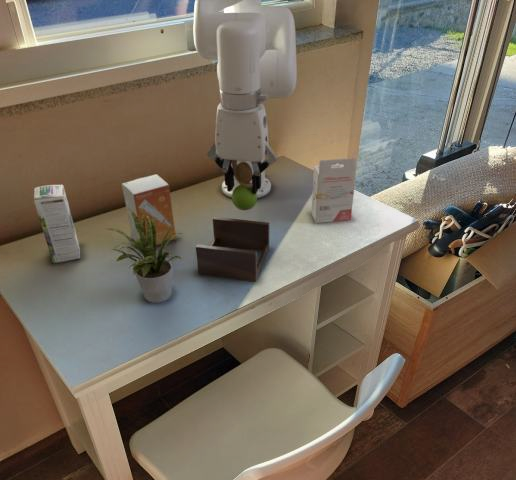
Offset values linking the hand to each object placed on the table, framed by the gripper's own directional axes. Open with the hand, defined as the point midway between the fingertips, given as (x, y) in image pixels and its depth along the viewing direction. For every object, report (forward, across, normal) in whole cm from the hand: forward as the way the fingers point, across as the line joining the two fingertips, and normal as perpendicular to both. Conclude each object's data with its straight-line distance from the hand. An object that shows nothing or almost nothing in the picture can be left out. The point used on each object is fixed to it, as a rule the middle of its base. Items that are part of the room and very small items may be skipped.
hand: (243, 189), depth 109 cm
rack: (+10, -1, +12) cm, 16 cm away
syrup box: (+11, +35, +17) cm, 40 cm away
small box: (+11, +19, +7) cm, 23 cm away
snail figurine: (+5, 0, 0) cm, 5 cm away
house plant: (+11, +12, +26) cm, 30 cm away
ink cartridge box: (+11, -18, -11) cm, 24 cm away
